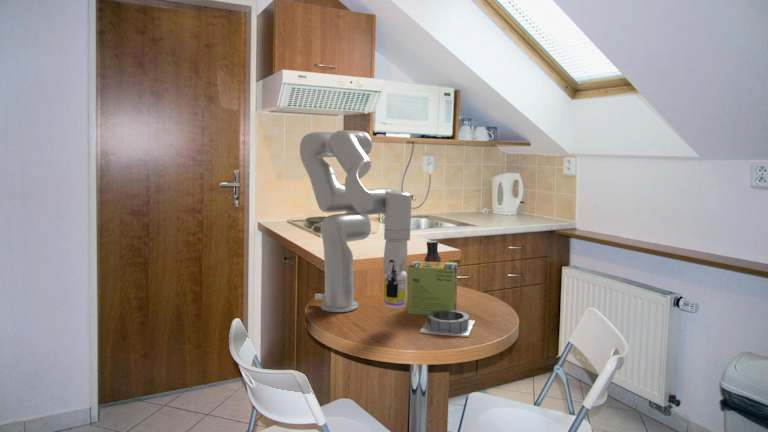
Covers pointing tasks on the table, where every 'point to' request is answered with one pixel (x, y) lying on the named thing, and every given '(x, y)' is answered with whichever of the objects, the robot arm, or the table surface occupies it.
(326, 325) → the table surface
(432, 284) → the protein box
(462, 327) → the ring collar
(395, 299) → the supplement bottle
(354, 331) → the table surface
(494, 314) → the table surface
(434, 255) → the sauce bottle
